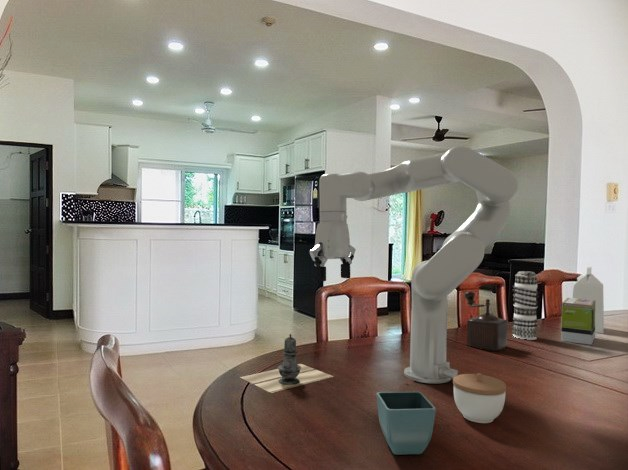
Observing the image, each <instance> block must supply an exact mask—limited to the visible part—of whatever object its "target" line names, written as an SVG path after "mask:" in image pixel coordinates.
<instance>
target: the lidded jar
mask: <svg viewBox="0 0 628 470" xmlns="http://www.w3.org/2000/svg"><path fill="white" fill-rule="evenodd" d="M452 384H453V387H452V388H453V389H452V390H453V399H454V403H455V405H456V408H457V409H458V410H459V412H460V413H461V414H462V415H463V417H464V418H465V420H467V421H471V422H474V423H479V424H491V423H492V422H493V421H494V420H495V419H497V418H498V417H499V415H500V414H501V413H502V412H503V409H504V406H505V400H506V392H507V385H506V383H505V382H504V381H502V380H501V379H499V378H496V377H492V376H491V375H485V374H483V373H481V372H478V373H464V374H463V373H462V374H457V376H455V377H454V378H453V379H452Z"/></svg>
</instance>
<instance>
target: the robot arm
mask: <svg viewBox="0 0 628 470" xmlns="http://www.w3.org/2000/svg"><path fill="white" fill-rule="evenodd" d="M459 182H460V183H462V184H463V185H465V186H467V187H469V188H471V190H474V191H475V194H476V197H477V205H476V208H475V209H474V211H473V213H471V214H470V216H468V218H467V219H466V220H465V221H464V222H463V223H462V224H461V225H460V226H459V227H458V228H457V229H456V230H455V231H454V232H453V233H451V234H450V235H448V236H447V237H446V238H445V240H444V241H443V243H442V244H441V245H442V246H441V247H440V248H439V250H438V251H437V252H435V254H434V255H433V256H431V258H429V259H428V260H424V261H421V262H419V263H418V264H416V266H415V267H414V269H413V271H412V273H411V279H410V281H411V284H410V285H411V312H410V313H411V318H410V348H409V349H410V351H409V353H410V354H409V366H407V367H405V368H404V371H403V376H405V377H406V378H407V379H411V380H413V381H415V382H417V383H423V384H433V385H434V384H445V383H449V382H450V381H452V380H453V378H454V377H455V376H457V375H459V371H458V369H454V368H451V363H450V361H447V336H448V334H447V333H448V310H449V308H448V296H449V295H450V294H451V293H453V291H454V290H456V289H457V288H458V287H459V286H460V285H461V284H462V283H463V282H464V281H465V280H466V279H468V277H469V276H470V275H471V274H472V273H473V272H474V271H475V270H477V268H478V267H479V266H480V265H481V263H482V261H483V259H484V256H485V249H486V248H487V247H488V245H490V243H491V242H492V241H493V240H494V239H495V238H496V237H497V236H498V235H499V234H500V233H501V232H502V230H503V229H504V227H505V226H506V225H507V222H508V220H509V216H510V211H511V209H510V207H511V203H510V200H512V199H513V198H514V197H515V196H516V194H517V193H518V190H519V182H518V179H517V177H516V175H515V174H514V173H513V172H512V171H511V170H510V169H508V168H507V167H504V166H503V165H502V164H499V163H498V162H495V161H494V160H492V159H490V158H488V157H487V156H485V155H483V154H482V153H480V152H478V151H476V150H474V149H472V148H470V147H468V146H465V145H456V146H453V147H451V148H449V149H448V150H447V151H445V152H441V153H436V154H433V155H427V156H423V157H418V158H412V159H409V160H405V161H403V162H401V163H399V164H398V165H395V166H394V167H392V168H388V169H386V170H382V171H377V172H373V173H372V172H371V173H367V172H365V171H354V172H348V173H342V174H341V173H324V174H322V175H321V176H320V177H319V183H318V185H319V187H318V188H319V222H318V223H317V225H316V230H315V231H316V232H315V240H314V241H315V242H314V247H313V248H312V249H310V250H309V252H308V253H309V255H310V257H311V261H312V262H313V264H314V266H315V267H316V273H315V274H316V281H318V282H326V281H327V267H326V263H327V261H328V260H338V259H339V260H340V261H341V264H340V278H342V279H350V278H351V265H352V263H353V262H352V261H353V260H354V257H355V253H356V247H354V246H352V244H351V241H350V232H349V231H350V229H349V225H348V223H347V219H348V215H347V214H348V213H347V199H354V200H356V201H358V202H365V201H371V200H377V199H380V198H384V197H385V198H386V197H390V196H393V195H394V196H395V195H399V194H405V193H406V194H407V193H411V192H415V191H421V190H424V189H425V190H426V189H429V188H434V187H440V186H444V185H450V184H455V183H459Z"/></svg>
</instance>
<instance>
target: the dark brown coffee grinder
mask: <svg viewBox="0 0 628 470" xmlns="http://www.w3.org/2000/svg"><path fill="white" fill-rule="evenodd" d="M463 296H464V299H466V301H467V303H466V304H467V305H468V306H469V307H470V308H483V307H486V308H485V309H486V312H485V313H482V314H479V315H477V316H474V317H472V318H469V319H467V330H466V331H467V335H466V336H467V340H466V345H468V346H467V347H469V346H472V347H471V348H474V347H477V348H476V349H479V348H482V349H481V350H484V349H487V350H486V351H490V350H492V351H491V352H498V350H499V351H501V350H503V349H505V348H507V338H508V337H507V336H508V319H504V318H500V317H497V316H496V315H494V314H493V312H490V305H491V304H490V302H491V301H490V299H489V298H487V299H485V303H484V304H483V303H482V304H480V303H479V304H475V303H476V302H475V300H474V299H475V297H476V293H475V292H474V291H467V292H465V293H464V295H463Z"/></svg>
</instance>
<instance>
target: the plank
mask: <svg viewBox="0 0 628 470" xmlns="http://www.w3.org/2000/svg"><path fill="white" fill-rule="evenodd" d="M333 377H334V375H331V374H329V373H326V372H324V371H322V370H321V371H320V370H318V369H315V370H311V371H307V372H302V373H299V375H298V376H297V377H296V378H297V379H299V380H300V383H298V384H296V385H283V384H280V383H279V380H280V379H281V378H278V379H273V380H269V381H265V382H261V383H257V384H254V385H255V386H256V387H258V388H260V389H262V390H264V391H266V392H267V393H270V394H272V393H276V392H279V391H283V390H287V389H292V388H294V387H295V388H296V387H300V386H303V385H307V384H310V383H314V382H318V381H321V380H326V379H329V378H333ZM334 378H335V377H334Z"/></svg>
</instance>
